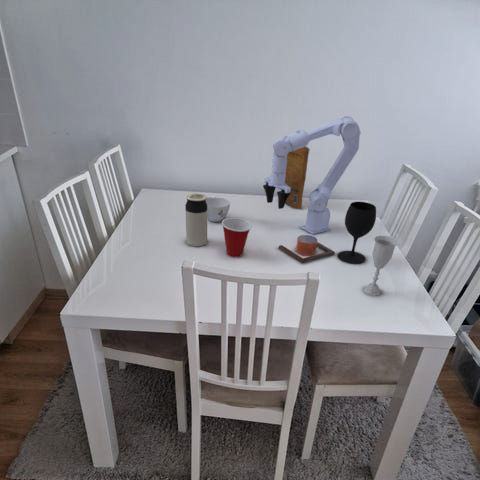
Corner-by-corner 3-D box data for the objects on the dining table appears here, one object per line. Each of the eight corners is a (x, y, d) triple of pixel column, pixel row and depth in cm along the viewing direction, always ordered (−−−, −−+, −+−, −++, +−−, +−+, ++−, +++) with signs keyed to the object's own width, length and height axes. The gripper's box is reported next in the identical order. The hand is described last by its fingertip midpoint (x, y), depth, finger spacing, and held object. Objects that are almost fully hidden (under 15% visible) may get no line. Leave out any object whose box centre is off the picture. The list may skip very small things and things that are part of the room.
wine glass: (366, 254, 159) (379, 203, 148) (364, 266, 151) (377, 213, 139) (339, 249, 162) (349, 198, 150) (335, 260, 153) (346, 208, 142)
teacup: (235, 221, 179) (236, 203, 175) (211, 227, 173) (211, 208, 168) (215, 210, 189) (216, 193, 184) (192, 215, 182) (191, 197, 178)
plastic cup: (247, 262, 149) (249, 230, 142) (217, 258, 150) (218, 226, 143) (252, 249, 158) (254, 219, 151) (224, 245, 159) (225, 215, 152)
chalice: (358, 285, 139) (371, 235, 129) (378, 285, 140) (392, 235, 130) (365, 297, 133) (379, 245, 123) (386, 297, 134) (401, 246, 124)
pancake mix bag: (295, 211, 193) (303, 147, 177) (272, 198, 206) (278, 138, 190) (307, 209, 196) (316, 146, 180) (283, 196, 209) (290, 137, 193)
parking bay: (309, 240, 167) (310, 237, 166) (334, 254, 158) (334, 251, 157) (278, 248, 159) (278, 245, 159) (302, 263, 150) (302, 260, 149)
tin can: (306, 245, 163) (308, 233, 160) (319, 253, 158) (321, 240, 155) (291, 249, 160) (293, 237, 157) (304, 257, 154) (306, 244, 152)
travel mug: (211, 242, 161) (212, 196, 150) (196, 248, 156) (195, 201, 145) (197, 236, 165) (197, 191, 154) (182, 242, 160) (180, 195, 150)
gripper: (259, 167, 166) (257, 201, 174) (282, 177, 157) (278, 212, 165) (273, 165, 170) (270, 198, 178) (296, 175, 160) (292, 209, 168)
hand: (275, 205), depth 171 cm, fingers open, 7 cm apart
